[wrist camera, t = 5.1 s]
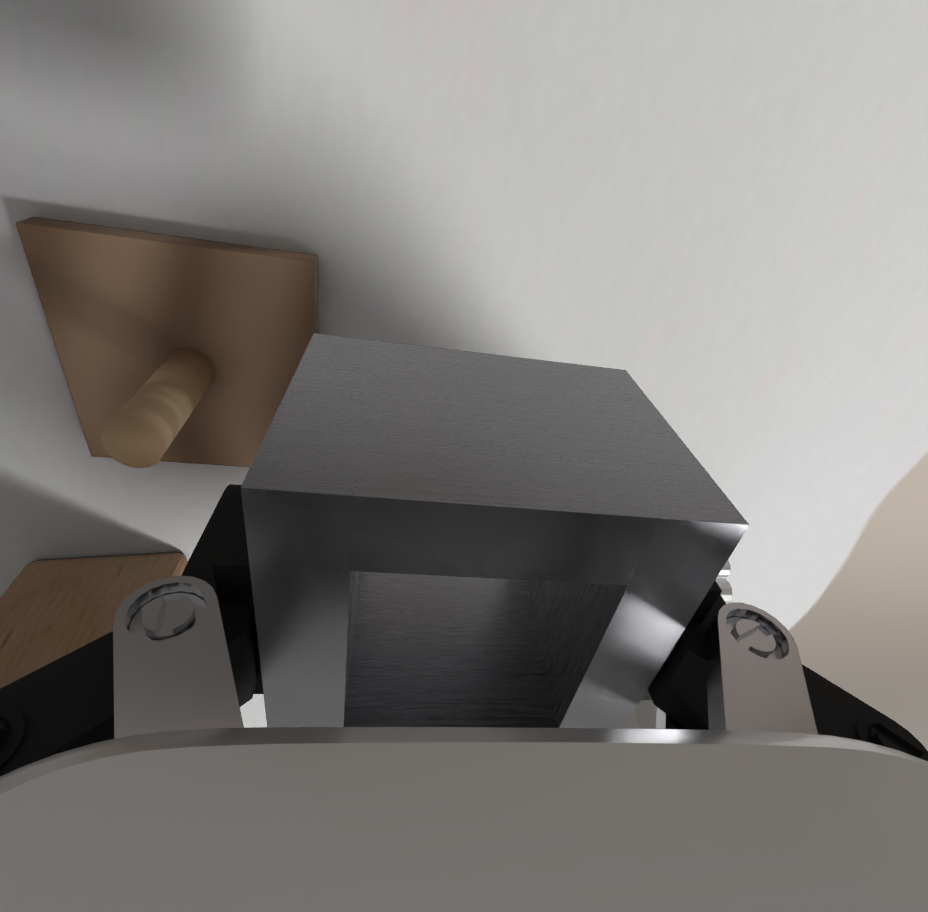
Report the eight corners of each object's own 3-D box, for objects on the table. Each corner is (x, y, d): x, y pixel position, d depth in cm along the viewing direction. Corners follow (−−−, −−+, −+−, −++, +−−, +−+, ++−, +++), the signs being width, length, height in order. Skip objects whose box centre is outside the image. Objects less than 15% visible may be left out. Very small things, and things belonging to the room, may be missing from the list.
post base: (317, 255, 24) (284, 316, 17) (319, 459, 31) (295, 557, 24) (32, 217, 22) (-124, 269, 16) (101, 444, 29) (13, 546, 22)
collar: (625, 370, 11) (749, 524, 7) (550, 579, 15) (602, 762, 10) (313, 333, 10) (240, 487, 6) (315, 566, 14) (271, 763, 10)
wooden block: (27, 558, 33) (-331, 998, 17) (185, 549, 34) (-15, 962, 18) (91, 647, 39) (-131, 1039, 23) (225, 638, 40) (101, 1010, 24)
